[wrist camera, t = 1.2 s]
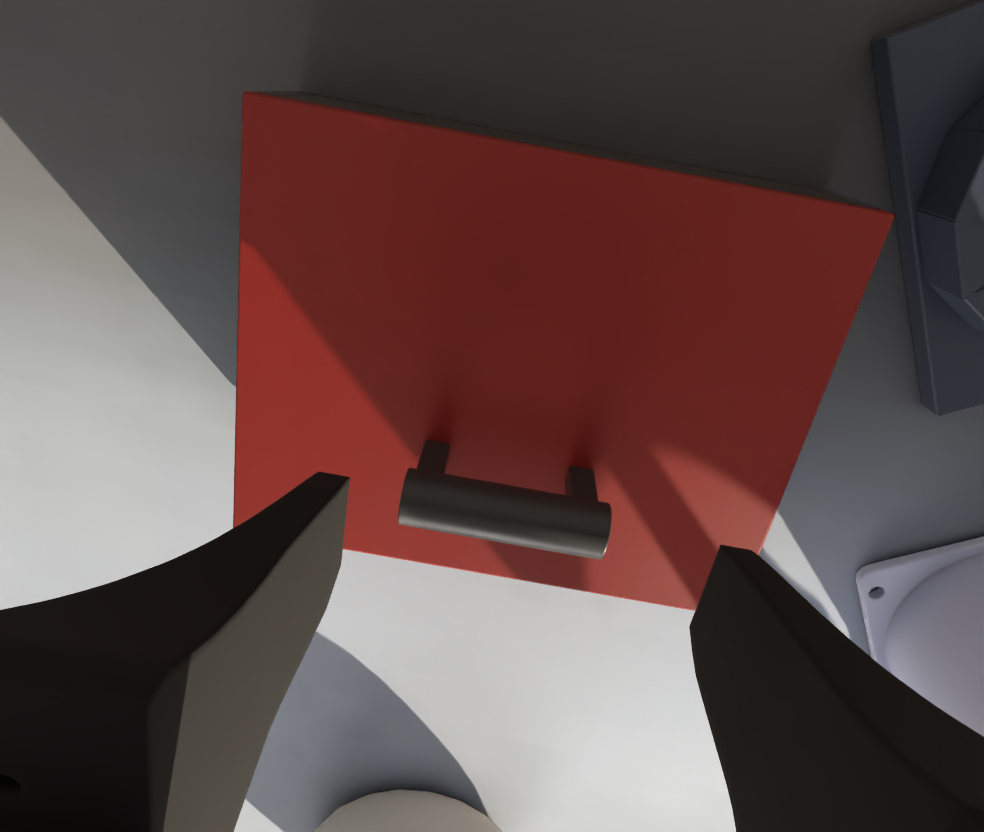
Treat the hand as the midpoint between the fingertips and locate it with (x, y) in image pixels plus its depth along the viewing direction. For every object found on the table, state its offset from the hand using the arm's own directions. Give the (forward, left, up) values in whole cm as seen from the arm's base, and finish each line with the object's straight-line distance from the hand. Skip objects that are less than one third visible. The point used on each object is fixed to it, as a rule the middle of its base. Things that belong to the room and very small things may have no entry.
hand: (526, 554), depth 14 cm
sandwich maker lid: (+1, 0, -7) cm, 7 cm away
